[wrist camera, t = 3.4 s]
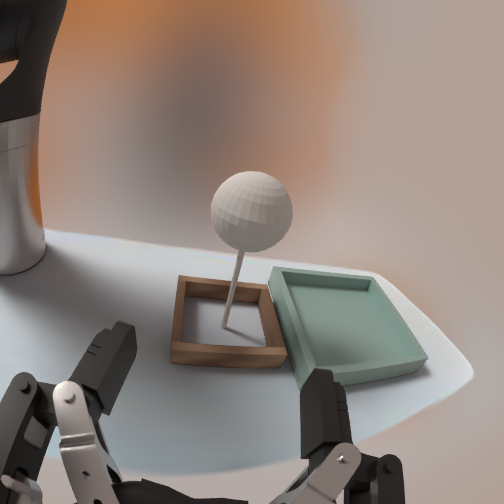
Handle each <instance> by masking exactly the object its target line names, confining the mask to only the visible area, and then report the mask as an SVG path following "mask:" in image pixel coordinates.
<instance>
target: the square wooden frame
mask: <svg viewBox="0 0 504 504" xmlns="http://www.w3.org/2000/svg"><path fill="white" fill-rule="evenodd" d="M231 282H232V281H225V280H215V279H206V278H197V277H189V276H180V275H179V277H178V285H177V293H176V302H175V311H174V320H173V331H172V342H171V363H177V364H188V365H200V366H216V367H240V368H281V366H282V364H283V362H284V360H285V358H286V356H287V351H286V348H285V344H284V341H283V337H282V334H281V330H280V327H279V323H278V320H277V316H276V313H275V309H274V306H273V303H272V299H271V296H270V292H269V289H268V285H265V284H254V283H244V282H237V284H236V288H235V292H234V296H233V301H244V302H257V304H258V309H259V313H260V318H261V322H262V326H263V331H264V335H265V339H266V344H267V347H243V346H224V345H209V344H196V343H186V342H181V341H182V324H183V309H184V296H192V297H202V298H211V299H222V300H227V299H228V295H229V290H230V286H231Z"/></svg>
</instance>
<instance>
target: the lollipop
mask: <svg viewBox="0 0 504 504" xmlns="http://www.w3.org/2000/svg"><path fill="white" fill-rule="evenodd" d="M292 215H293V213H292V204H291V200H290V197H289V195H288V193H287V191H286V189H285V188H284V187H283V185H282V184H281V183H280V182H278V181H277V180H276V179H275V178H273V177H271V176H269V175H267V174H265V173H262V172H254V171H247V172H242V173H238V174H236V175H234V176H232V177H230V178H229V179H227V180H226V181H225V182H224V183H223V184H222V185H221V186H220V187H219V188H218V190H217V192H216V193H215V195H214V197H213V201H212V204H211V217H212V223H213V225H214V228H215V230H216V232H217V234H218V235H219V237H220V238H221V239H222V240H223V241H224V242H225V243H227V244H228V245H229V246H231V247H232V248H234V249H237V250H239V253H238V257H237V261H236V265H235V269H234V274H233V278H232V282H231V286H230V290H229V295H228V299H227V303H226V308H225V312H224V316H223V321H222V325H221V327H222V328H226V325H227V321H228V317H229V312H230V308H231V304H232V300H233V296H234V292H235V288H236V284H237V280H238V276H239V272H240V268H241V265H242V261H243V257H244V252H259V251H263V250H267V249H268V248H270V247H272V246H274V245H276V244H277V243H278V242H279V241H280V240H281V239H282V238H283V237H284V235H285V234H286V233H287V231H288V229H289V228H290V226H291V221H292Z"/></svg>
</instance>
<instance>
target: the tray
mask: <svg viewBox="0 0 504 504" xmlns="http://www.w3.org/2000/svg"><path fill="white" fill-rule="evenodd" d="M268 285H269V288H270V292H271V295H272V298H273V302H274V305H275V308H276V312H277V315H278V319H279V322H280V325H281V329H282V332H283V336H284V339H285V343H286V346H287V349H288V353H289V356H290V360H291V363H292V367H293V370H294V374H295V377H296V381H297V384H298V387H299V390H301V388H302V386H303V384H304V383H305V381H306V380H307V378H308V377H309V375H310V374H311V372H312V371H313V369H314V368H320V369H329V370H332V372H333V378H334V382H340V384H341V385H342V386H346V385H353V384H359V383H365V382H371V381H377V380H382V379H387V378H392V377H396V376H401V375H405V374H410V373H414V372H416V371H417V370H418V369H419V368H420V367H421V366H422V365H423V364H424V363H425V361H426V360H427V359H428V357H427V355H426V353H425V352H424V350H423V349H422V347H421V345H420V344H419V342H418V341H417V339H416V338H415V336H414V335H413V333H412V332H411V330H410V329H409V327H408V326H407V324H406V323H405V321H404V320H403V318H402V317H401V315H400V314H399V312H398V311H397V310H396V308H395V307H394V305H393V304H392V302H391V301H390V300H389V298H388V297H387V295H386V294H385V293H384V291H383V290H382V289H381V287H380V286H379V284H378V283H377V282H376V280H375V279H374V278H373V277H368V276H358V275H348V274H339V273H329V272H320V271H311V270H301V269H292V268H283V267H274V266H273V269H272V272H271V275H270V278H269V281H268Z"/></svg>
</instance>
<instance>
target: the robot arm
mask: <svg viewBox="0 0 504 504" xmlns="http://www.w3.org/2000/svg"><path fill="white" fill-rule="evenodd" d="M66 4H67V0H0V63H5V62H10V61H14V60H19V61H18V63H17V66H16V68H15V69H14V70H13V72H12V73H11V74H10V75H9V76H8V77H7V78H6V79H5V80H4V81H3V82H2V83H1V84H0V274H15V273H19V272H22V271H24V270H26V269H28V268H30V267H32V266H33V265H35V264H36V263H37V262H38V261H39V260H40V259H41V258H42V257H43V255H44V253H45V251H46V243H45V235H44V229H43V223H42V214H41V204H40V191H39V170H38V142H39V122H40V111H41V101H42V95H43V89H44V83H45V78H46V72H47V67H48V63H49V59H50V55H51V52H52V48H53V45H54V42H55V39H56V36H57V33H58V30H59V27H60V24H61V21H62V18H63V15H64V12H65V8H66ZM136 353H137V342H136V334H135V327H134V326H133V325H130V324H127V323H124V322H121V321H117V322H116V324H115V325H114V327H113V328H112V330H109V329H106V328H105V329H104V330H102V331H101V332H100V333H98V334H97V335H96V336H95V338H94V339H93V341H92V343H91V345H90V346H89V347H88V349H87V352H85V354H84V355H83V357H82V359H81V360H80V362H79V364H78V365H77V367H76V369H75V370H74V372H73V374H72V376H71V377H70V378H69V379H68V380H67V381H64V382H61V383H59V384H58V385H53V384H47V383H42V382H37V381H36V379H35V378H34V377H33V376H32V375H31V374H29V373H26V372H22V373H19V374H17V375H16V376H15V377H14V378H13V380H12V381H11V383H10V385H9V387H8V389H7V391H6V392H5V394H4V396H3V398H2V400H1V402H0V504H42V491H41V489H40V487H39V485H38V484H37V483H36V481H37V477H38V474H39V471H40V468H41V465H42V462H43V459H44V456H45V453H46V450H47V447H48V445H49V442H50V439H51V437H52V434H53V431H54V429H55V426H58V427H59V431H60V436H61V443H60V444H59V448H60V453H61V456H62V460H63V463H64V466H65V470H66V473H67V475H68V478H69V482H70V484H71V487H72V490H73V492H74V495H75V497H76V500H77V503H74V504H248V501H242V500H233V499H227V498H210V499H194V498H190V497H189V496H186V495H184V494H182V493H180V492H178V491H176V490H174V489H172V488H170V487H168V486H165V485H161V484H158V483H154V482H151V481H148V480H145V479H142V480H141V481H126V482H124V481H123V479H122V477H121V474H120V472H119V470H118V468H117V466H116V464H115V462H114V460H113V458H112V456H111V454H110V451H109V449H108V446H107V443H106V440H105V437H104V434H103V431H102V428H101V425H100V422H99V418H100V416H101V414H102V413H104V414H106V415H108V416H109V415H110V412H111V410H112V408H113V405H114V403H115V401H116V399H117V396H118V394H119V392H120V390H121V387H122V385H123V383H124V381H125V379H126V377H127V374H128V372H129V370H130V368H131V366H132V364H133V362H134V359H135V357H136ZM346 402H347V400H346V394H345V391H344V389H343V387H342V385H341V384H340V382H334V378H333V372H332V370H329V369H320V368H314V369H313V371H312V372H311V374H310V375H309V377H308V378H307V380H306V381H305V383H304V384H303V386H302V388H301V392H300V422H301V459H309V465H308V466H307V467H306V468H305V469H304V470H303V471H302V473H301V474H300V475H299V476H298V477H297V478H296V479H295V480H294V482H293V483H292V484H291V485H290V486H289V487H288V488H287V489H286V490H285V491H284V492H283V493H282V494H281V495H279V496H278V497H276V498H275V499H274V500H273V501H272V502H271V503H269V504H336V501H335V500H336V498H337V497H338V495H339V494H340V492H341V491H342V490H343V489H344V504H405V494H404V493H405V492H404V479H403V469H402V463H401V461H400V459H399V458H398V457H397V456H395V455H391V454H387V455H384V456H383V457H381V458H378V457H374V456H370V455H366V454H363V453H361V452H360V451H359V449H358V448H357V447H356V446H355V445H353V442H352V437H351V429H350V421H349V414H348V412H347V411H348V407H347V404H346Z"/></svg>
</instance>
